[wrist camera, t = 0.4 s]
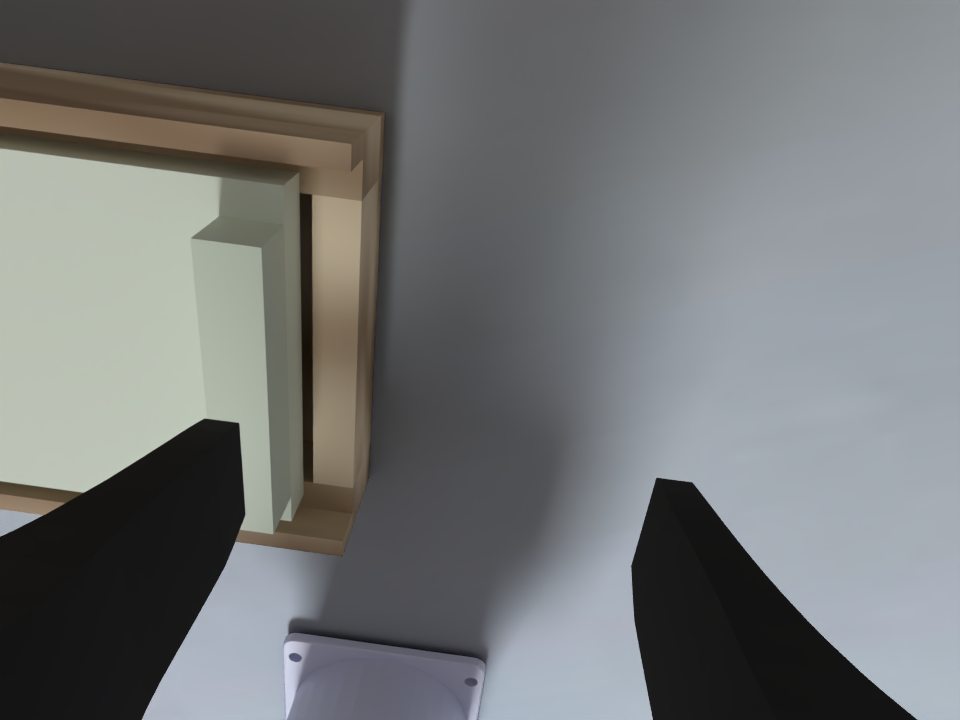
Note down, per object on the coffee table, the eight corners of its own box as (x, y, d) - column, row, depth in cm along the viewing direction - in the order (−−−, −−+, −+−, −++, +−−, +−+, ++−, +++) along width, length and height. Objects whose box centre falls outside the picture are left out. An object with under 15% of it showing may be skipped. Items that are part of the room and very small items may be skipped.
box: (368, 477, 24) (342, 556, 21) (-36, 422, 24) (-123, 491, 21) (385, 112, 18) (351, 144, 15) (-147, 43, 19) (-293, 59, 15)
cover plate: (303, 494, 22) (274, 559, 19) (-54, 445, 22) (-127, 503, 19) (299, 172, 17) (259, 205, 14) (-160, 111, 17) (-273, 135, 15)
